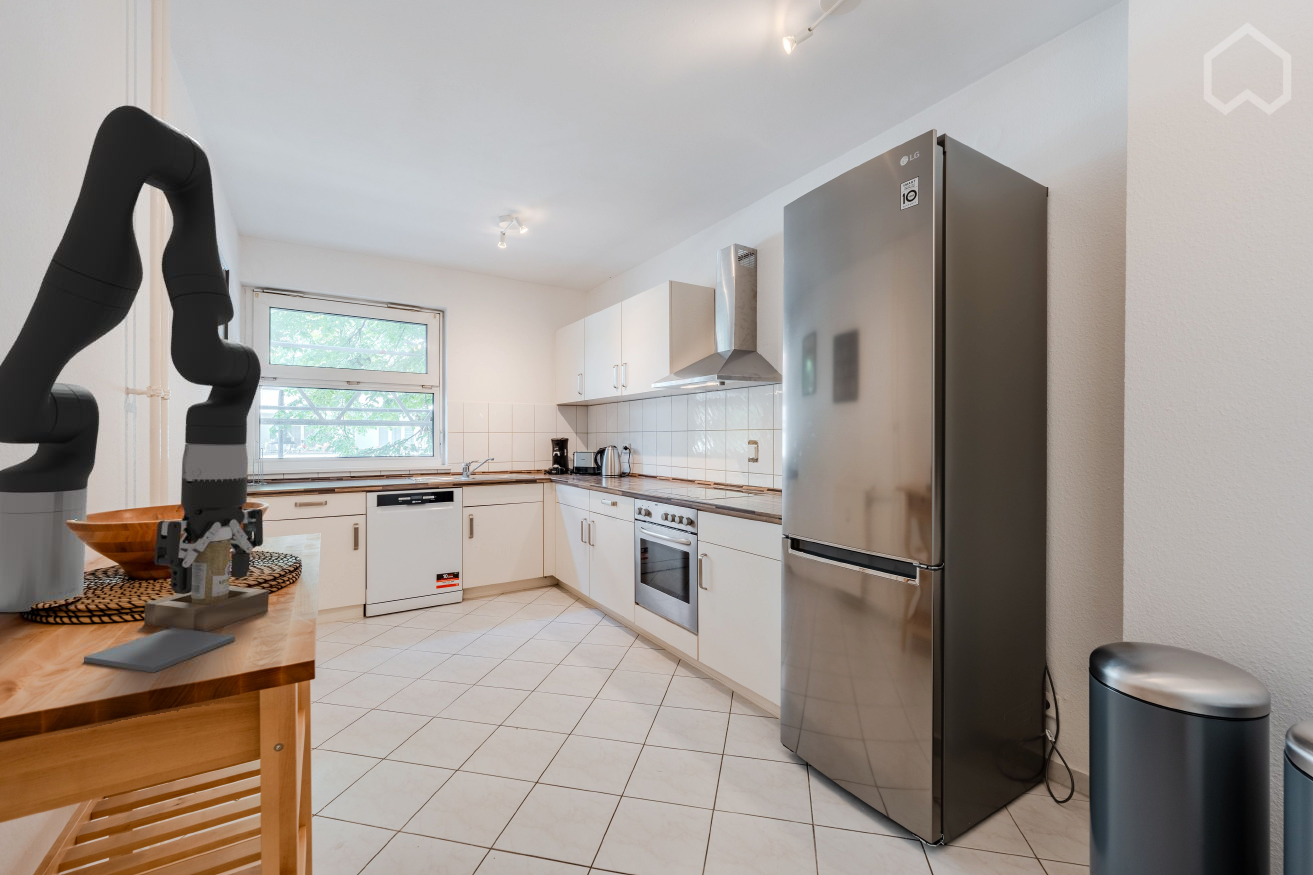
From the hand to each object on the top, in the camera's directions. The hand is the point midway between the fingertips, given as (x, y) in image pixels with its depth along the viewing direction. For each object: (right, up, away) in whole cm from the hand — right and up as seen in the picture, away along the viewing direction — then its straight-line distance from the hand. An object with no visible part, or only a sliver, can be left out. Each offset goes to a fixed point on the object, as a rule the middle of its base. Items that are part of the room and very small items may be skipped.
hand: (212, 584), depth 80 cm
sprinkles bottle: (-1, -5, 0) cm, 5 cm away
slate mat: (+3, -5, -12) cm, 13 cm away
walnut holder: (-1, -5, 0) cm, 5 cm away
